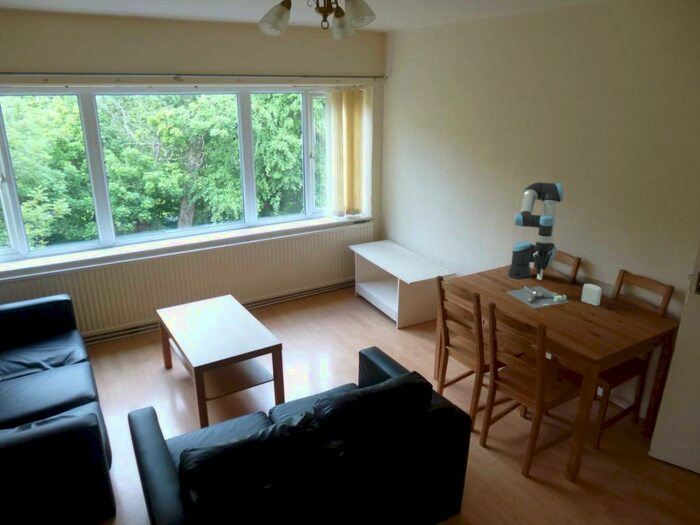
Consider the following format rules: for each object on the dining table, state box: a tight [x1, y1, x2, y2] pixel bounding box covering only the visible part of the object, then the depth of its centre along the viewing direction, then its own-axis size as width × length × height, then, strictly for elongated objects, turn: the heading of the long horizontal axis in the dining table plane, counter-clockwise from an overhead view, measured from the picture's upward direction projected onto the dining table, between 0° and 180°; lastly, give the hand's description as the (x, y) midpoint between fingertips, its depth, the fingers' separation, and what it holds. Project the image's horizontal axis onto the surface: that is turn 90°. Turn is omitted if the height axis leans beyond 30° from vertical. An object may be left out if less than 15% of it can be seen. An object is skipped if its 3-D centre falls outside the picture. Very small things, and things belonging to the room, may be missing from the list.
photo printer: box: [580, 283, 603, 306], centre depth 289 cm, size 10×4×12 cm, turn 39°
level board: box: [505, 285, 571, 309], centre depth 299 cm, size 26×26×5 cm
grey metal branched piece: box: [522, 285, 560, 302], centre depth 302 cm, size 22×19×3 cm
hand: (539, 278), depth 304 cm, fingers closed
